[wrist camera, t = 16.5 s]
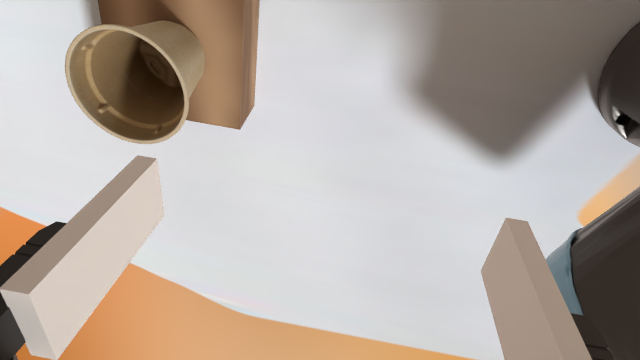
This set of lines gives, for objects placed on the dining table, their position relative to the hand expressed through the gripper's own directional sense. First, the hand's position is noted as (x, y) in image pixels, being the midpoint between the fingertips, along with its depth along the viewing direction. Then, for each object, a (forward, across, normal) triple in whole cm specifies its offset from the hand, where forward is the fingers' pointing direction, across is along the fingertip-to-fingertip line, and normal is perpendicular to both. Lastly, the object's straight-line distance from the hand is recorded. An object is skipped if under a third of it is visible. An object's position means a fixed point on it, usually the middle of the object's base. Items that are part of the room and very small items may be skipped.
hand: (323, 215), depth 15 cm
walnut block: (+30, +17, +3) cm, 34 cm away
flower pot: (+24, +17, +3) cm, 29 cm away
